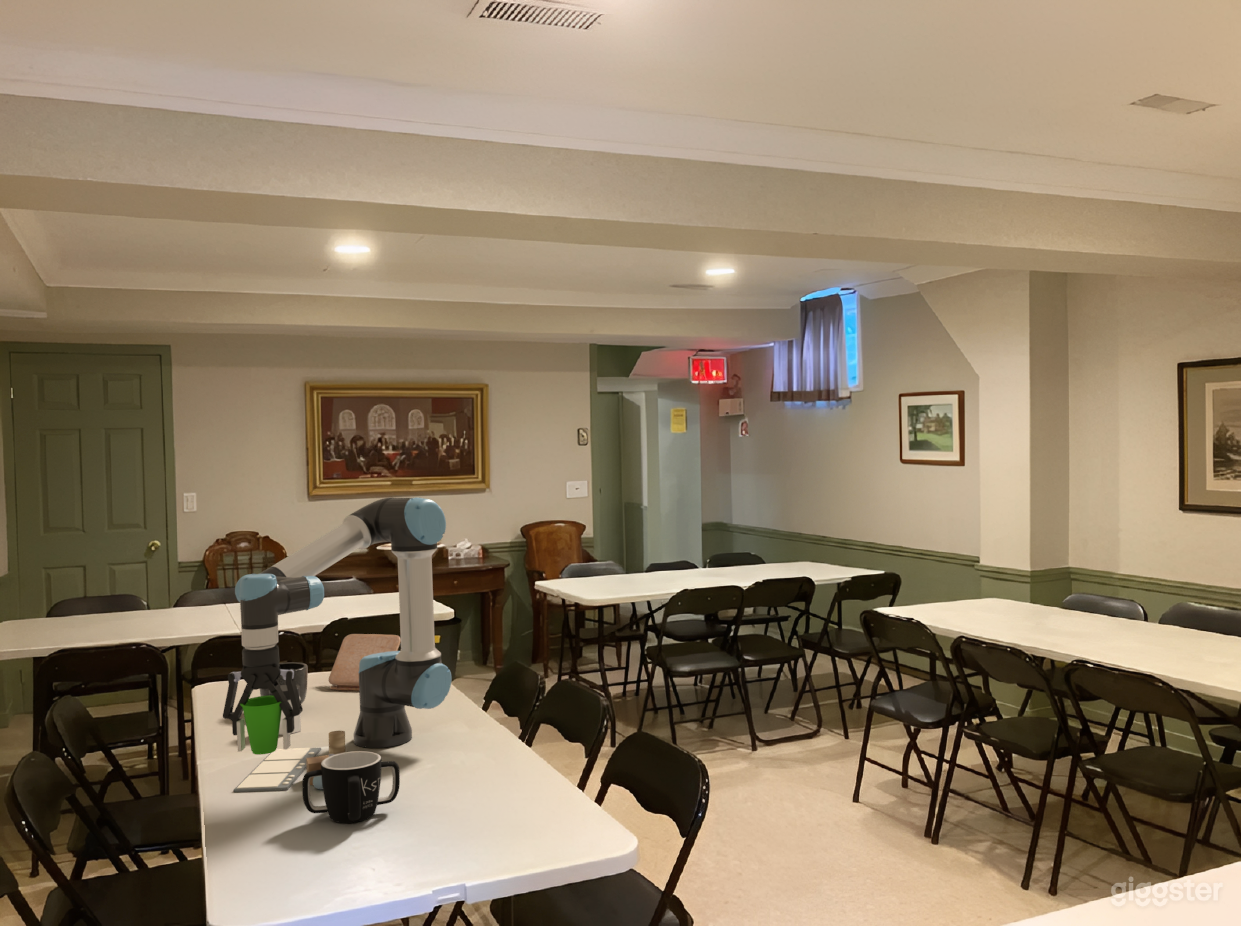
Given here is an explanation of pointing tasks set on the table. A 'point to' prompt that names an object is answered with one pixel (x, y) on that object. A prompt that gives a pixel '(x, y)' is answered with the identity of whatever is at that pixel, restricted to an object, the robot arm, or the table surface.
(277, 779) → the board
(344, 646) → the case
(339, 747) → the beech cylinder
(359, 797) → the mug
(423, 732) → the table surface
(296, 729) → the jar
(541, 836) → the table surface
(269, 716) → the cup
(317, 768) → the walnut block
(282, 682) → the planter
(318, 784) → the dusty blue ball
